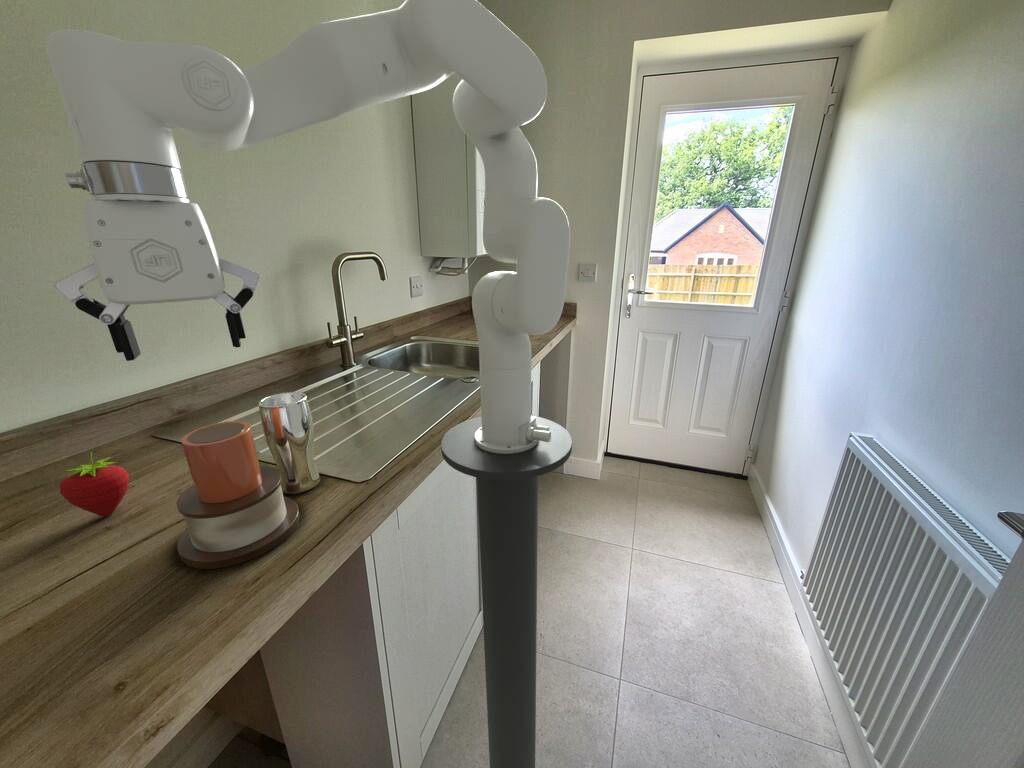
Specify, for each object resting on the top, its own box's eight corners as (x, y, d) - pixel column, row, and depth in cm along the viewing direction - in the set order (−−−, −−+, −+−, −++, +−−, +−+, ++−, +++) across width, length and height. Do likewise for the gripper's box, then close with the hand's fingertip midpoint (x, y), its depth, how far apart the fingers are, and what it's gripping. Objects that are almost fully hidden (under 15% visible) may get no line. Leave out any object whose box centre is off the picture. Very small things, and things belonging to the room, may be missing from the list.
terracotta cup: (274, 479, 56) (262, 426, 53) (220, 509, 49) (203, 449, 47) (241, 468, 59) (228, 417, 56) (185, 495, 52) (168, 438, 50)
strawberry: (92, 506, 62) (69, 447, 59) (149, 500, 64) (129, 442, 60) (60, 531, 57) (33, 468, 53) (124, 524, 58) (100, 461, 55)
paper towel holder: (321, 515, 59) (313, 473, 57) (222, 584, 47) (207, 534, 45) (258, 492, 65) (249, 453, 63) (156, 549, 53) (139, 503, 51)
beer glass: (295, 471, 71) (278, 390, 66) (331, 474, 70) (317, 392, 65) (266, 494, 65) (245, 406, 60) (305, 497, 64) (287, 408, 59)
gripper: (-2, 178, 34) (74, 372, 40) (240, 188, 43) (274, 346, 48) (36, 189, 40) (97, 356, 46) (241, 195, 49) (271, 336, 54)
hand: (188, 351), depth 47 cm, fingers open, 9 cm apart
